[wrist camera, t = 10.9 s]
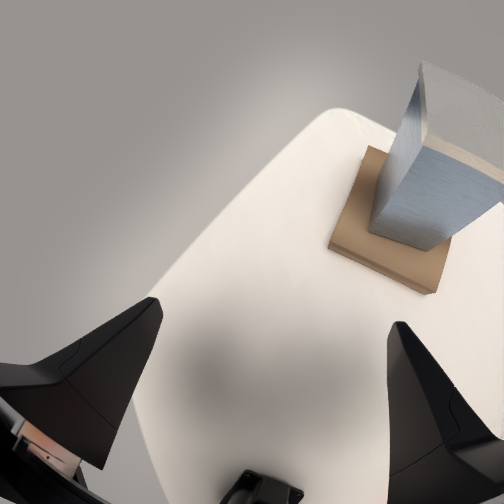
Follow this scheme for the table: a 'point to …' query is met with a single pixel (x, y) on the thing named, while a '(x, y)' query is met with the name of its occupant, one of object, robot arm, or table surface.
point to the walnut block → (378, 247)
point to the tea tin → (441, 162)
